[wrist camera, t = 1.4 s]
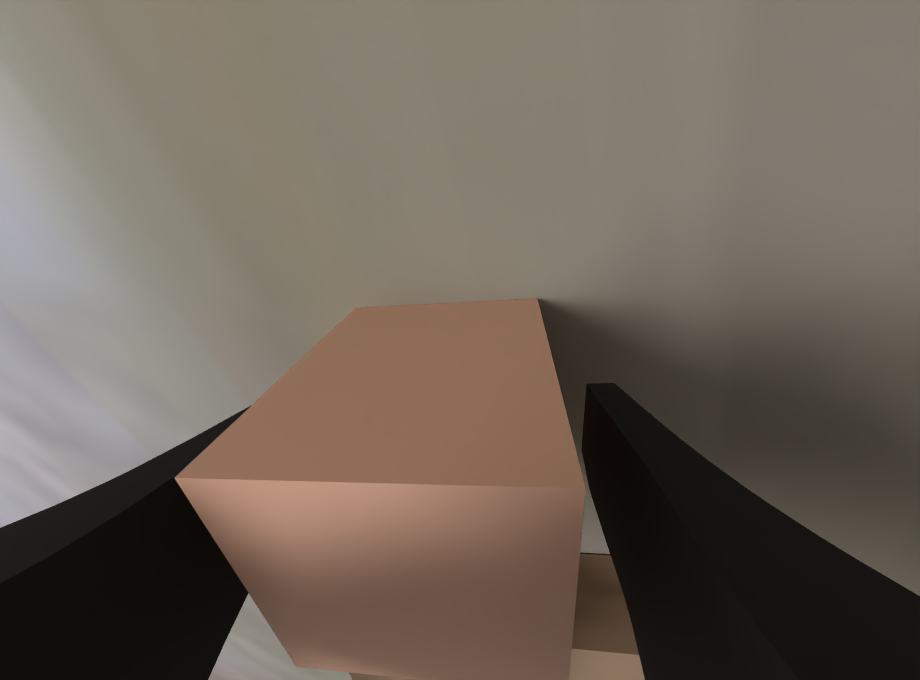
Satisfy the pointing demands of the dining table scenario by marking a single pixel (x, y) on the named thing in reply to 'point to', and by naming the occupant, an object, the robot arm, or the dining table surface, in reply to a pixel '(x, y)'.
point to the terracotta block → (408, 497)
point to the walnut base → (594, 627)
